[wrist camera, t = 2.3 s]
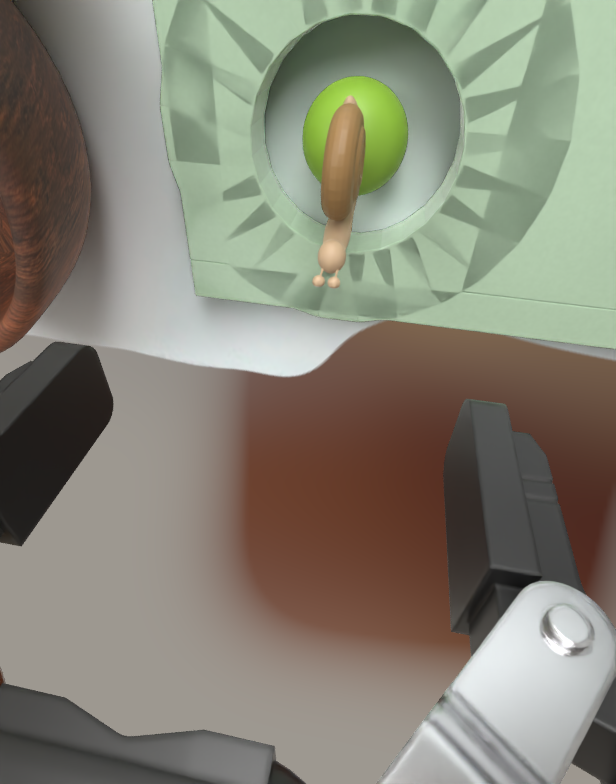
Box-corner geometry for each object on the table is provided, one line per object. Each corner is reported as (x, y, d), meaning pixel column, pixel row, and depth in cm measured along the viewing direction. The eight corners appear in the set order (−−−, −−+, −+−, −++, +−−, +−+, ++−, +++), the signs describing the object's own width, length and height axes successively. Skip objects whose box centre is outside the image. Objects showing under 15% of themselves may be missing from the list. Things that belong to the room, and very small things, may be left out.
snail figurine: (311, 191, 29) (263, 284, 20) (313, 66, 24) (253, 115, 16) (398, 198, 28) (389, 297, 19) (416, 70, 24) (414, 123, 15)
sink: (150, -146, 20) (117, -161, 18) (988, -131, 17) (1074, -148, 15) (204, 280, 34) (190, 301, 32) (668, 337, 31) (687, 365, 29)
